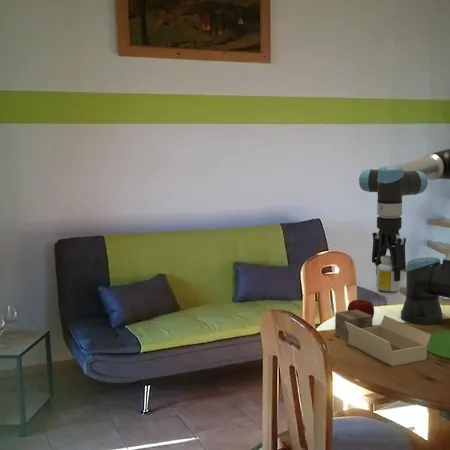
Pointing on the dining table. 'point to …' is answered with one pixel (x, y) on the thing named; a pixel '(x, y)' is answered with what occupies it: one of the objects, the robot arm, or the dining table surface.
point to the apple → (361, 306)
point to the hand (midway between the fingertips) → (387, 288)
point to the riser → (351, 322)
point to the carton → (390, 341)
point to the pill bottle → (385, 276)
